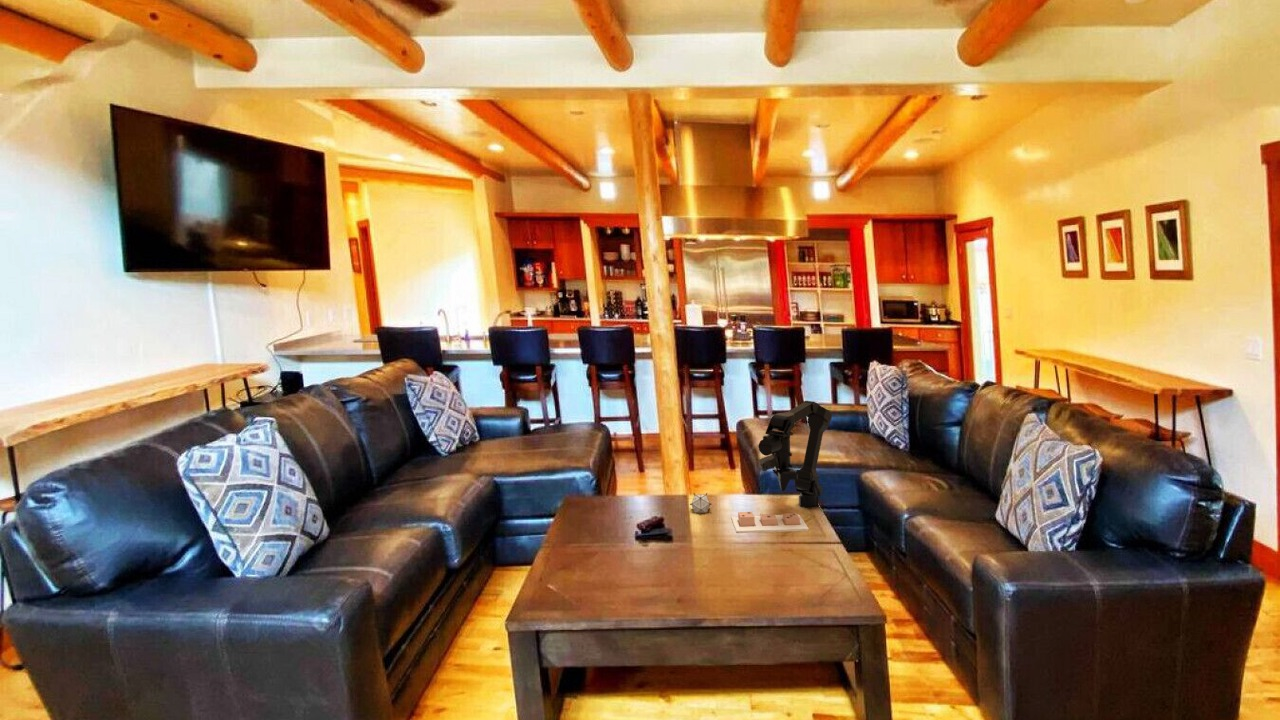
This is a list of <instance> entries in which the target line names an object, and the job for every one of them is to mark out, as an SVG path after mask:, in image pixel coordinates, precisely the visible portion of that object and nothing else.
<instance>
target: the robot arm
mask: <svg viewBox="0 0 1280 720" xmlns="http://www.w3.org/2000/svg"><path fill="white" fill-rule="evenodd" d="M805 417H806V418H807V425H808V427H809V433H808V439H807V443H806V448H805V454H804V459H803V465H802V466H801V468H800V469H797V470H795V469H794V467H793V464H792V463H791V457H793V453H792V452H791V436H793V435H794V433H793V432H792V430H793V429H794V428H795V427H796V423H798V422H799V421H801V420H802V419H804V418H805ZM832 418H833V416H832V413H831V411H830V409H827V408H826V407H824V406H822V405H820V404H818V403H817V402H816V401H812V400H803V401H802V403H800V404H798V405H796V406H795V407H793V408H791V409H789V410H788V411H786V412H778V413H775V414H773V415H772V416H771V418H770V421H769V423H768V425H767V428H766V431H765V433H764V434H765V435H763V436H762V440H760V441H759V443H758V446H757V447H758V451H759V452H760V453H761V455H763V456H764V457H763V458H760V459H758V460H757V461H758V465H759V467H760V469H761V470H762V472H767V471H768V470H771V469H772V472H773V473H774V474H775V476H776V477H777V480H778V484H779V487H780V490H781V491H782V492H784V491H785V490H786V489H787V486H788V485H789V483H790V481H791V480H794V481H793V482H794V487H795V491H796V493H800V494H799V495H798V505H799V507H800V508H807V509H814V508H818V507H819V497H820V496H821V495H822V494H823V490H824V488H823V487H822V485H821V484H820V483H819V479H820V477H819V474H818V472H817V465H818V460H819V455H820V450H821V445H822V439H823V435H824V432H826V430H827V429H828V428H829V426H830V424H831V421H832ZM773 468H774V469H773Z"/></svg>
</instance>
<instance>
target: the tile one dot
mask: <svg viewBox="0 0 1280 720" xmlns="http://www.w3.org/2000/svg"><path fill="white" fill-rule="evenodd" d="M775 515H776V514H774V513H763V514H761V513H760V515H759V516H760V522H761V525H762V526H777V518H776V516H775Z"/></svg>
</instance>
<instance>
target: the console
mask: <svg viewBox="0 0 1280 720" xmlns="http://www.w3.org/2000/svg"><path fill="white" fill-rule="evenodd" d="M797 515H798V516H799V518H800V525H784V523H783V514H775V516H776V518H777V526H762V524H761V522H760V515H754V519H755V526H747V527H740V525H739V523H738V515H737V516H731V517H730V518H731V521H732V525H733V527H734V530H735V533H736V534H749V533H750V534H751V533H777V532H778V533H779V532H780V533H782V532H808V531H809V530H810V529H809V527H808V525H807V524H806V523H805V521H804V519H803V518H802V517H801V515H800V514H799V513H798V514H797Z"/></svg>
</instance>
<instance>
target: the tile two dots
mask: <svg viewBox="0 0 1280 720" xmlns="http://www.w3.org/2000/svg"><path fill="white" fill-rule="evenodd" d="M737 513H738V514H737V516H738V524H739V527H747V526H755V519H754V516H755V515H754V513H753V511H738V512H737Z"/></svg>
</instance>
